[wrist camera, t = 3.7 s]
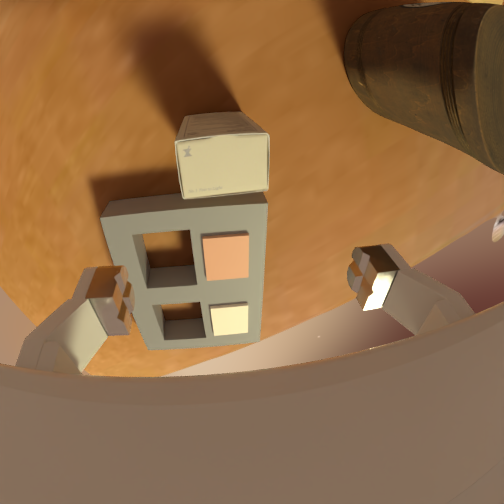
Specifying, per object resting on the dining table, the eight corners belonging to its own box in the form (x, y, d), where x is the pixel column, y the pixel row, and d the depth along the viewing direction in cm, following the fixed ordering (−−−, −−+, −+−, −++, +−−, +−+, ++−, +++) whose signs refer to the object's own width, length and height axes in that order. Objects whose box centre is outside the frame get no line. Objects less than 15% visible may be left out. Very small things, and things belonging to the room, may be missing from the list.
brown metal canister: (447, 52, 23) (585, 95, 5) (414, 137, 30) (546, 225, 13) (364, -12, 18) (527, -33, 1) (324, 87, 26) (495, 149, 8)
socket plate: (150, 330, 44) (148, 352, 40) (109, 201, 30) (98, 220, 26) (255, 322, 46) (260, 344, 43) (260, 188, 32) (268, 205, 29)
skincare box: (187, 153, 28) (178, 202, 19) (183, 113, 26) (170, 140, 16) (245, 148, 29) (269, 194, 19) (245, 108, 26) (270, 132, 17)
